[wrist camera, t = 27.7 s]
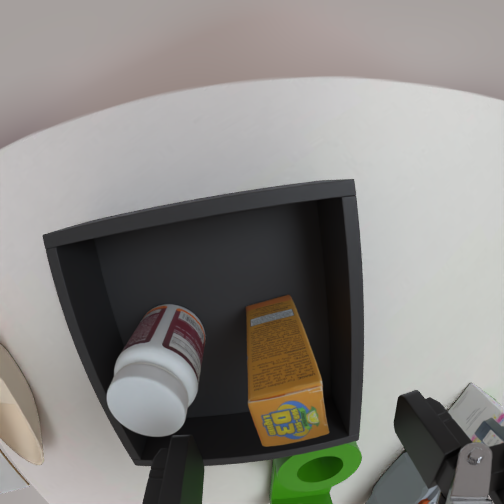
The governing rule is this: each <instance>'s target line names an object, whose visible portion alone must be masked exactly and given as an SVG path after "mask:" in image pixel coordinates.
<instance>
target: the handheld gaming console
mask: <svg viewBox="0 0 504 504" xmlns="http://www.w3.org/2000/svg"><path fill="white" fill-rule="evenodd" d="M439 491H440V488H439V487H438V485H437V486H435V487H433V488H430V489H428V488H427V486H426V484H425V482H424V481H423V479H422V477H421V475H420V474H419V472H418V470H417V469H416V467H415V465H414V463H413V462H412V460H411V458H410V457H409V455H408V453H407V452H406V453H403V454H402V455H401V456H400V457H399V458H398V459H397V460H396V461H395V462H394V463H393V464H392V465H391V466H390V468H389V469H388V470H387V471H386V472H385V473H384V474H383V476H382V477H381V478H380V480H379V481H378V482H377V483H376V485H375V486H374V488H373V492H372V495H371V496H370V498H369V499H368V501H367V502H366V504H434V503H435V502H436V501H437V497H438V493H439Z"/></svg>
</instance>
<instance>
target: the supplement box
mask: <svg viewBox="0 0 504 504" xmlns="http://www.w3.org/2000/svg"><path fill="white" fill-rule="evenodd" d="M246 322H247V367H248V407H249V410H250V413H251V416H252V419H253V422H254V424H255V427H256V430H257V432H258V435H259V438H260V440H261V443H262V445H263V446H265V447H269V446H277V445H284V444H289V443H294V442H299V441H304V440H308V439H311V438H316V437H319V436H322V435H326V434H328V433H329V428H328V424H327V419H326V412H325V405H324V398H323V383H322V379H321V375H320V372H319V369H318V366H317V363H316V360H315V357H314V355H313V352H312V349H311V346H310V343H309V340H308V338H307V335H306V332H305V329H304V327H303V324H302V322H301V319H300V317H299V314H298V312H297V309H296V307H295V304H294V302H293V300H292V297H291V296H290V295H286V296H282V297H278V298H275V299H271V300H267V301H263V302H259V303H256V304H252V305H248V306H246Z"/></svg>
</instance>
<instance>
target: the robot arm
mask: <svg viewBox="0 0 504 504" xmlns="http://www.w3.org/2000/svg"><path fill="white" fill-rule="evenodd" d="M394 429H395V432H396V434H397V436H398V438H399V440H400V441H401V443H402V445H403V446H404V448H405V450H406V451H407V453H408V455H409V457H410V458H411V460H412V462H413V463H414V465H415V467H416V469H417V470H418V472H419V474H420V475H421V477H422V479H423V481H424V482H425V484H426V486H427V488H428V489H430V488H433V487H435V486H437V485H438V487H439V488H440V491H439V493H438V497H437V501H436V504H492V501H493V502H494V504H504V443H501V444H498V445H494V446H490V447H488V446H487V445H486V444H484V443H480V442H472V441H471V440H470V438H469V437H468V436H467V435H466V433H465V432H464V431H463V430H462V428H461V427H460V426H459V425H458V424H457V422H456V421H455V420H454V419H452V416H451V415H450V414H449V413H448V412H447V410H446V409H445V408H444V407H443V406H442V404H441V403H440V402H438V401H436V400H434V399H432V398H427V399H425V398H424V397H423V396H422V395H421V393H420V392H419V391H418V390H414V391H412V392H409V393H406V394H403V395H400V396H399V397H398V401H397V407H396V413H395V418H394ZM203 481H204V463H203V459H202V456H201V454H200V452H199V449H198V447H197V444H196V442H195V440H194V437H193V436H192V435H173V436H172V437H171V441H170V445H169V448H161V449H160V450H159V451H158V453H157V454H156V455H155V456H154V458H153V462H152V466H151V470H150V474H149V478H148V482H147V486H146V491H145V495H144V499H143V504H202V494H203ZM488 494H489V496H490V497H491V499H492V500H489V499H488Z"/></svg>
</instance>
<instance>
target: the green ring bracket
mask: <svg viewBox="0 0 504 504" xmlns="http://www.w3.org/2000/svg"><path fill="white" fill-rule="evenodd" d="M361 460H362V456H361V452H360V450H359V448H358V446H357V443H356V441H354V442H350V443H347V444H343V445H339V446H335V447H331V448H327V449H323V450H318V451H314V452H309V453H304V454H299V455H294V456H288V457H283V458H276V459H273V466H272V476H271V485H270V495H269V498H270V504H332V500H331V497H330V494H329V492H330V490H331V487H332V486H334V485H336V484H338V483H340V482H342V481H344V480H345V479H347V478H348V477H350V476H351V475H352V474H353V473H354V472H355V471H356V470H357V468H358V467H359V465H360V463H361Z"/></svg>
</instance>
